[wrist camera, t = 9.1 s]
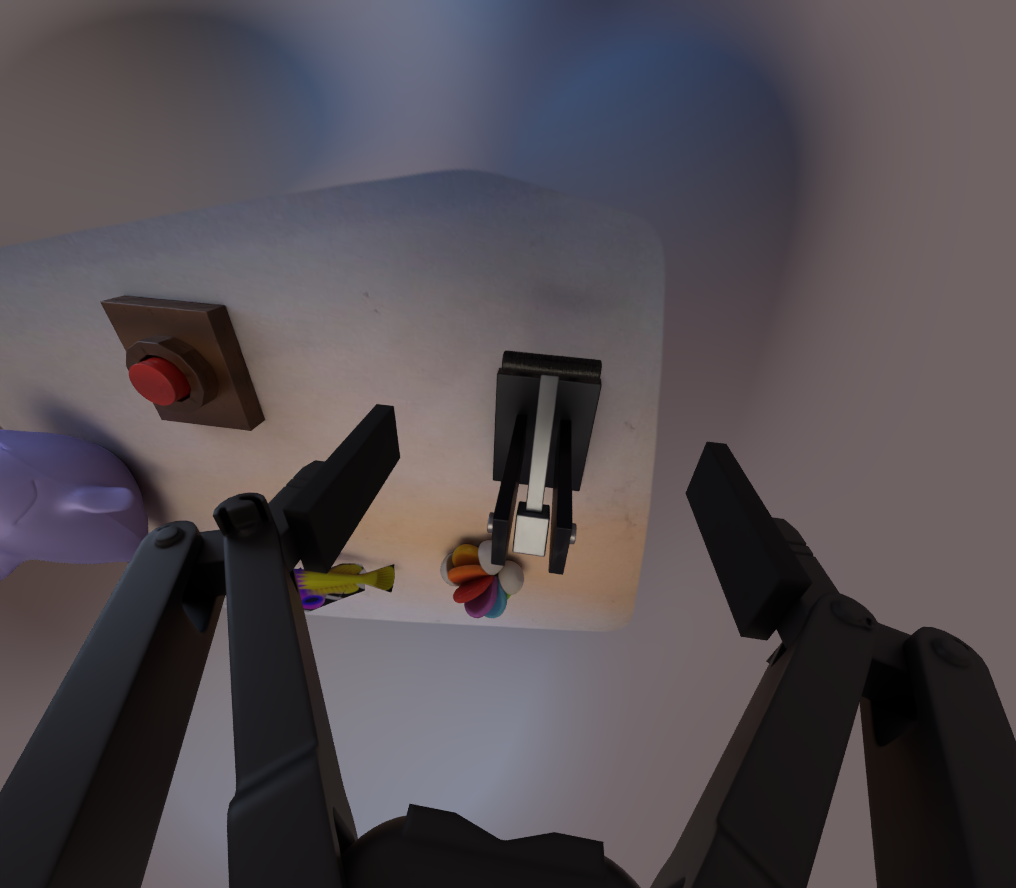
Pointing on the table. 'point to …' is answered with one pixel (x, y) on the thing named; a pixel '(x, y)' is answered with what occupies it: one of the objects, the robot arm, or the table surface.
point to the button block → (190, 357)
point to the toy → (340, 583)
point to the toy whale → (65, 502)
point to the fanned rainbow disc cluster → (481, 580)
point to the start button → (159, 380)
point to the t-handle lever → (542, 437)
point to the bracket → (516, 452)
